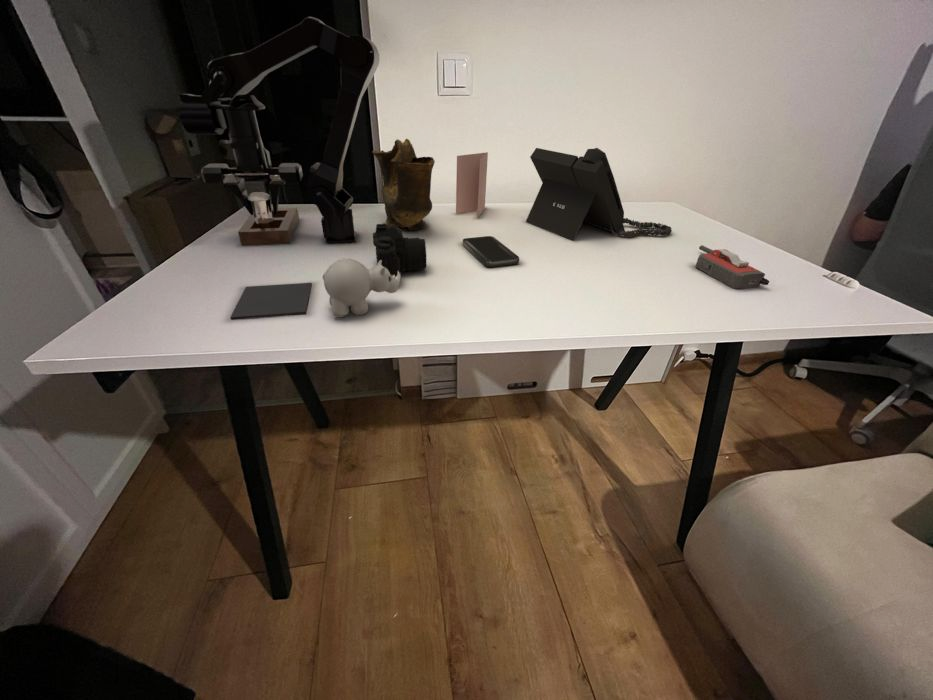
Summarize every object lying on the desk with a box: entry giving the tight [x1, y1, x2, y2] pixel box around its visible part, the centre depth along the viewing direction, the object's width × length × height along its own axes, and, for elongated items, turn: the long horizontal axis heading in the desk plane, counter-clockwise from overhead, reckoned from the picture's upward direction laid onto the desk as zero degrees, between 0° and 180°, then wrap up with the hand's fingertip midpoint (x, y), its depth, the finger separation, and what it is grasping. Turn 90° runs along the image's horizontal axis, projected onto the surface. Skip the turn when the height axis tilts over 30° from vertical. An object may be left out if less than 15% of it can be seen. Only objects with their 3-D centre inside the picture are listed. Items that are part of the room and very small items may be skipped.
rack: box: [237, 207, 300, 246], centre depth 95 cm, size 10×18×3 cm, turn 13°
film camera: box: [372, 223, 427, 277], centre depth 77 cm, size 15×10×9 cm, turn 9°
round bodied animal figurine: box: [322, 258, 402, 318], centre depth 64 cm, size 7×12×8 cm, turn 109°
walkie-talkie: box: [695, 245, 770, 290], centre depth 84 cm, size 9×4×20 cm
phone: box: [462, 235, 520, 268], centre depth 88 cm, size 8×1×15 cm
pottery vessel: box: [372, 137, 436, 232], centre depth 97 cm, size 25×11×20 cm, turn 24°
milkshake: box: [248, 191, 275, 229], centre depth 89 cm, size 5×5×10 cm
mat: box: [229, 282, 313, 320], centre depth 67 cm, size 11×11×1 cm
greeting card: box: [455, 152, 489, 219], centre depth 110 cm, size 11×7×15 cm, turn 133°
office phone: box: [525, 147, 672, 242], centre depth 102 cm, size 29×28×20 cm
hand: (264, 214), depth 90 cm, fingers closed on milkshake, 5 cm apart
